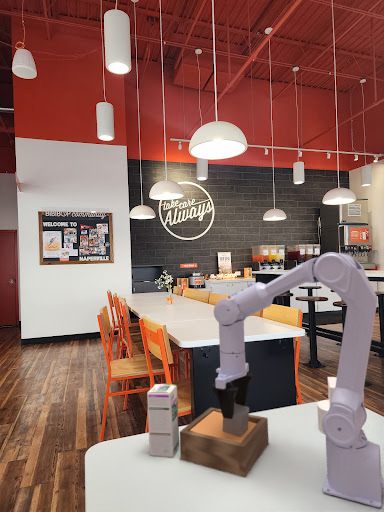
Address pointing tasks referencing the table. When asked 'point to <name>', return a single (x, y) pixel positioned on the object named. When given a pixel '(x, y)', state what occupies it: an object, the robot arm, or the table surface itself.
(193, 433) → the wooden box
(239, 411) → the gray block
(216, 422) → the orange flap
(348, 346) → the robot arm
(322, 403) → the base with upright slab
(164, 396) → the syrup box
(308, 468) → the table surface
